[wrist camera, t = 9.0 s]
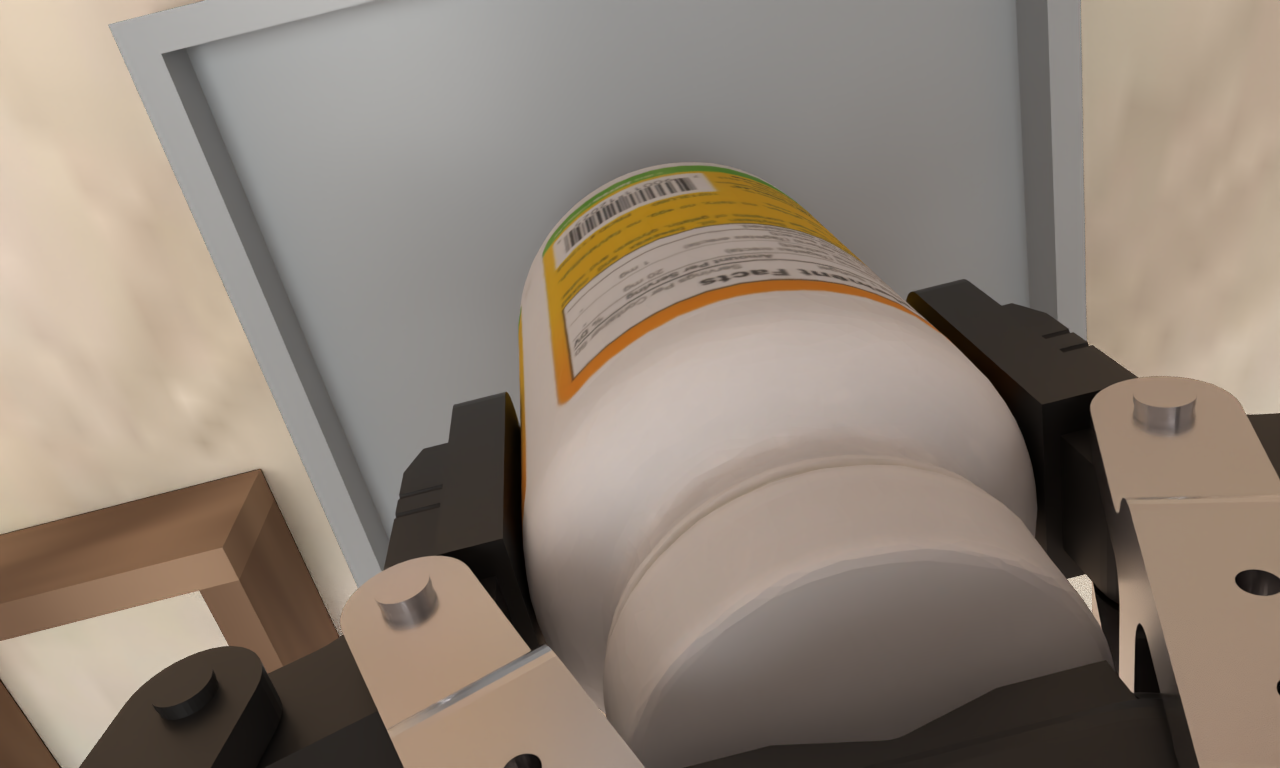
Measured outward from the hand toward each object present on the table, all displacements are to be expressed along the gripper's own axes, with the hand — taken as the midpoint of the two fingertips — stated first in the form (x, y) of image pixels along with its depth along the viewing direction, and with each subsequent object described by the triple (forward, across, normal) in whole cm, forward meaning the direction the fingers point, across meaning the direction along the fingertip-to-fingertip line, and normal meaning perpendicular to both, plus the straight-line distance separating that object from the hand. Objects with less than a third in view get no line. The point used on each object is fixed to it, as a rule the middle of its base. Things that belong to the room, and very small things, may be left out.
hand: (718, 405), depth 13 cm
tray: (+8, 0, 0) cm, 8 cm away
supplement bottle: (+4, 0, 0) cm, 4 cm away
